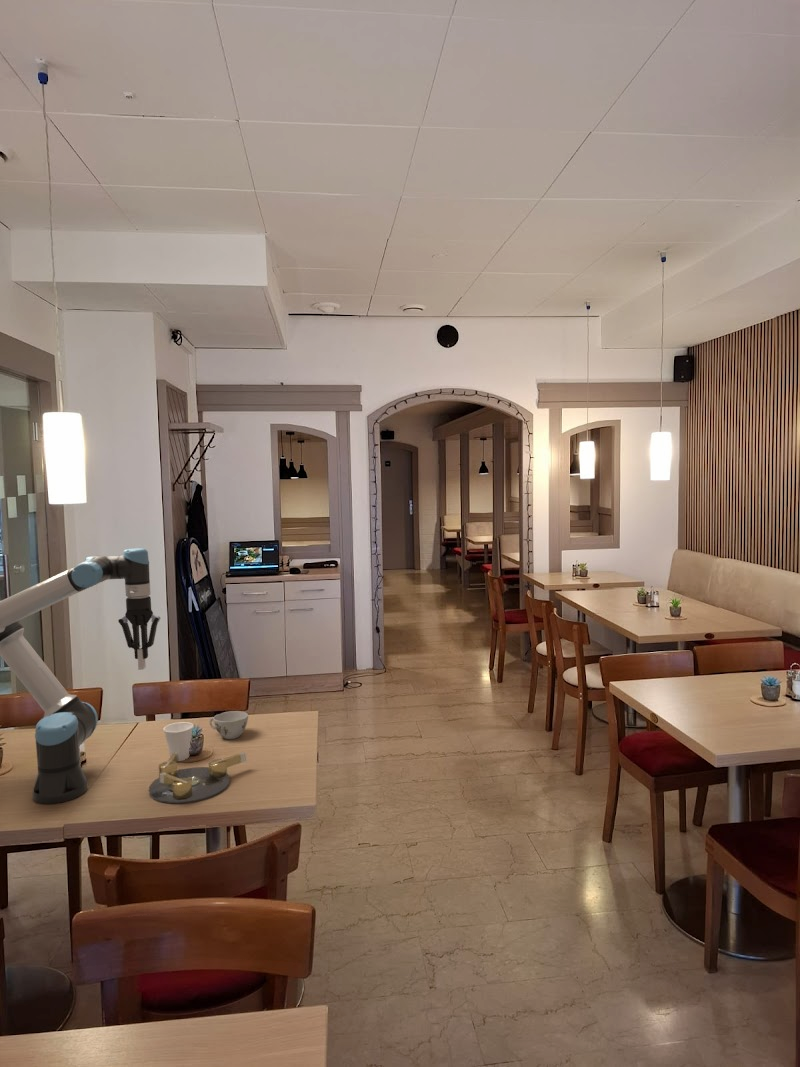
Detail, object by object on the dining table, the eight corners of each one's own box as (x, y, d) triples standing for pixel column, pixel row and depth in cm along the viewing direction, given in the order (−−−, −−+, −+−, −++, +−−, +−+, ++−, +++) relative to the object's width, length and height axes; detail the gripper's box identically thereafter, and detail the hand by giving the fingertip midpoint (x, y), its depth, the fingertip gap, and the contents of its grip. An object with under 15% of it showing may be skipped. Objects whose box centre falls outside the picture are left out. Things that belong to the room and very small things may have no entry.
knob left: (175, 780, 221) (174, 766, 221) (156, 781, 221) (156, 767, 221) (185, 763, 234) (184, 750, 234) (168, 764, 234) (167, 751, 233)
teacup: (254, 731, 266) (254, 711, 265) (239, 744, 254) (238, 722, 253) (218, 729, 270) (217, 708, 269) (201, 741, 258) (200, 719, 257)
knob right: (214, 780, 221) (214, 766, 220) (205, 775, 225) (205, 761, 224) (250, 767, 230) (249, 754, 229) (240, 763, 234) (240, 750, 233)
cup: (186, 764, 236) (184, 732, 236) (159, 763, 238) (157, 731, 238) (200, 753, 246) (198, 722, 245) (174, 751, 248) (172, 721, 247)
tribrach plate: (138, 805, 207) (138, 797, 207) (162, 771, 231) (161, 764, 231) (221, 801, 208) (220, 794, 208) (235, 768, 232) (235, 761, 232)
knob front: (196, 793, 211) (195, 779, 211) (180, 800, 207) (179, 786, 206) (170, 783, 219) (169, 769, 219) (154, 790, 214) (153, 776, 214)
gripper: (113, 599, 223) (117, 672, 225) (155, 597, 224) (159, 670, 226) (121, 595, 231) (125, 666, 233) (162, 594, 231) (165, 664, 233)
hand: (142, 668), depth 229 cm, fingers closed
